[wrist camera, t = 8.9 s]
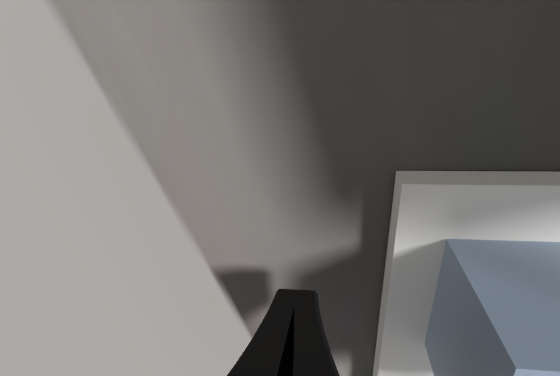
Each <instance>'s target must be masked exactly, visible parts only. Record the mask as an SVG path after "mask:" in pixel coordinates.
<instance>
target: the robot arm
mask: <svg viewBox="0 0 560 376" xmlns="http://www.w3.org/2000/svg"><path fill="white" fill-rule="evenodd" d="M227 376H339V373H338V371H337V368H336V365H335V363H334V360H333V357H332V354H331V351H330V348H329V345H328V342H327V339H326V335H325V332H324V328H323V325H322V320H321V316H320V311H319V305H318V293H317V292H316V291H310V290H291V289H279V290H278V291H277V292H276V294H275V297H274V299H273V301H272V304H271V306H270V308H269V310H268V312H267V314H266V315H265V317H264V319H263V321H262V323H261V325H260V326H259V328H258V330H257V331H256V333H255V335H254V336H253V338H252V340H251V341H250V343H249V345H248V346H247V348H246V349H245V351H244V352H243V354H242V355H241V357H240V358H239V360H238V361H237V363H236V364H235V365H234V367H233V368H232V370H231V371H230V372H229V374H228V375H227Z"/></svg>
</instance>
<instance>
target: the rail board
mask: <svg viewBox="0 0 560 376" xmlns="http://www.w3.org/2000/svg"><path fill="white" fill-rule="evenodd" d="M446 239H472V240H506V241H541V242H560V172H552V171H396V177H395V186H394V194H393V203H392V212H391V220H390V229H389V237H388V246H387V255H386V263H385V272H384V281H383V289H382V298H381V307H380V315H379V324H378V332H377V341H376V350H375V358H374V367H373V376H434V374H433V371H432V367H431V364H430V361H429V357H428V354H427V350H426V347H425V339H426V335H427V330H428V325H429V320H430V315H431V311H432V306H433V301H434V296H435V292H436V287H437V282H438V277H439V272H440V268H441V263H442V258H443V253H444V249H445V244H446Z"/></svg>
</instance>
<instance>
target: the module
mask: <svg viewBox="0 0 560 376" xmlns="http://www.w3.org/2000/svg"><path fill="white" fill-rule="evenodd" d="M425 347H426V350H427V354H428V357H429V361H430V364H431V367H432V371H433V374H434V376H560V242H541V241H506V240H472V239H446V244H445V249H444V253H443V258H442V263H441V268H440V272H439V277H438V282H437V287H436V292H435V296H434V301H433V306H432V311H431V315H430V320H429V325H428V330H427V335H426V339H425Z"/></svg>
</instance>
